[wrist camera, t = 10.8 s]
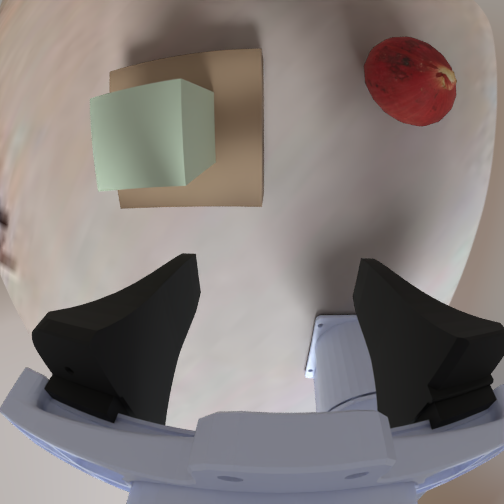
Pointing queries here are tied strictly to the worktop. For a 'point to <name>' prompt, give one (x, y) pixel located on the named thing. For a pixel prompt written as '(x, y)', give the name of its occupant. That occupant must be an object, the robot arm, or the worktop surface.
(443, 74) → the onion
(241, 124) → the walnut base
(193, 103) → the sage block
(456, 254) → the worktop surface
